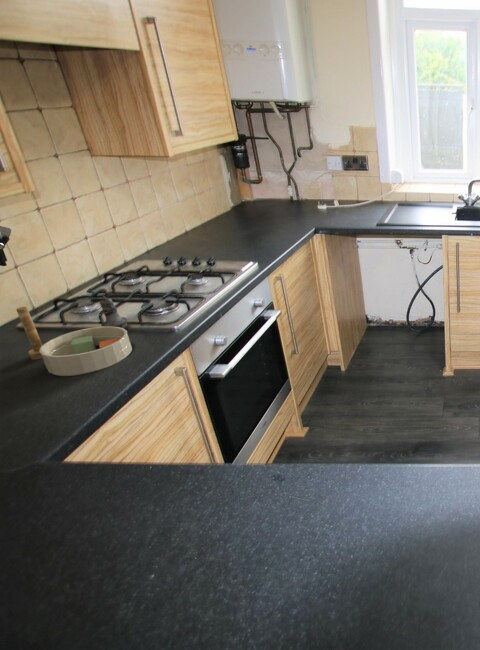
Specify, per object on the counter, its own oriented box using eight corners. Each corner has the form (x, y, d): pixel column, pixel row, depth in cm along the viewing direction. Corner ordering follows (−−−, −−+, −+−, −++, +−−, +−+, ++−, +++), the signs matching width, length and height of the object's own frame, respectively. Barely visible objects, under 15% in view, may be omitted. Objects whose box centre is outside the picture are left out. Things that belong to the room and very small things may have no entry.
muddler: (30, 361, 122) (9, 312, 117) (31, 356, 125) (11, 307, 120) (51, 357, 125) (32, 308, 119) (51, 351, 128) (32, 304, 122)
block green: (76, 358, 123) (71, 344, 122) (77, 352, 126) (72, 339, 124) (96, 354, 126) (91, 340, 124) (96, 348, 128) (91, 335, 127)
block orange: (104, 361, 122) (99, 347, 121) (103, 355, 125) (99, 341, 124) (123, 356, 125) (119, 343, 123) (122, 351, 127) (118, 337, 126)
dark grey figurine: (107, 339, 135) (90, 301, 130) (106, 332, 139) (89, 295, 134) (132, 333, 138) (117, 296, 133) (130, 325, 142) (115, 289, 137)
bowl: (45, 385, 113) (36, 363, 110) (50, 357, 125) (42, 336, 123) (134, 364, 123) (128, 344, 120) (131, 340, 135) (125, 321, 133)
